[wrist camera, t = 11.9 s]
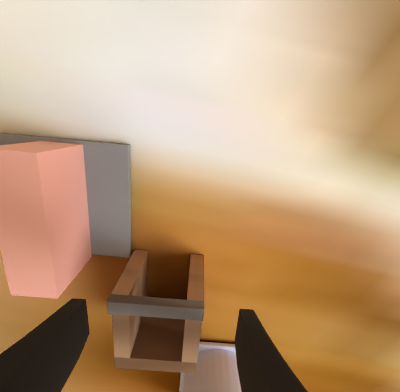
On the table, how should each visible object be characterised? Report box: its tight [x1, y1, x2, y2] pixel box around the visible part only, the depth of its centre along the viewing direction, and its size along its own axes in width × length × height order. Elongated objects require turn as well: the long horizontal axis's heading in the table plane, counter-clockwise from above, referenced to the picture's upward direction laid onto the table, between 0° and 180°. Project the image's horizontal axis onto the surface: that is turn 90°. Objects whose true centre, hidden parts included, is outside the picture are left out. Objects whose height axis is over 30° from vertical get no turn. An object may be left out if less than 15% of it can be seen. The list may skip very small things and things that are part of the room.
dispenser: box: [107, 250, 204, 374], centre depth 19 cm, size 7×6×6 cm
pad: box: [0, 133, 132, 258], centre depth 19 cm, size 10×10×1 cm
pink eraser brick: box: [0, 141, 92, 299], centre depth 16 cm, size 10×3×5 cm, turn 175°
